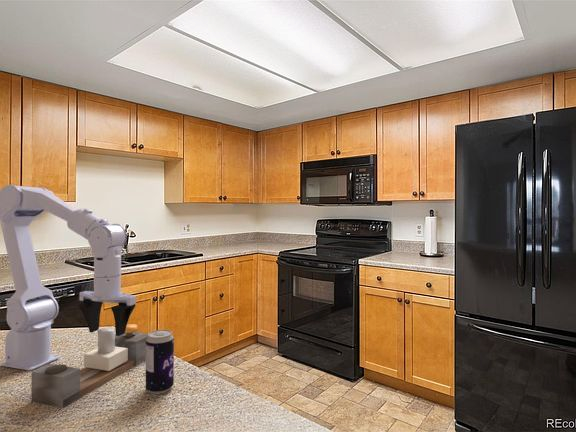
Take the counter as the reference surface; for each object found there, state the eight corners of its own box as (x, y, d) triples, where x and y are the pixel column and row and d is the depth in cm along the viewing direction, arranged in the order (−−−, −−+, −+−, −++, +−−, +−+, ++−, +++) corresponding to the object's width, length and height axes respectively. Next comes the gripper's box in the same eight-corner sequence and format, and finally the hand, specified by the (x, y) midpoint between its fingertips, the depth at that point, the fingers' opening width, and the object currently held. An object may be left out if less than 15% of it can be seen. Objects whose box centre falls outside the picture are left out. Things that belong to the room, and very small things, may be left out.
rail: (29, 401, 72) (29, 369, 72) (123, 352, 97) (123, 329, 97) (65, 408, 70) (65, 375, 69) (151, 356, 94) (151, 332, 94)
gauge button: (118, 339, 92) (118, 327, 92) (128, 334, 95) (128, 323, 95) (130, 341, 91) (130, 329, 91) (140, 336, 94) (140, 324, 94)
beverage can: (164, 397, 74) (165, 339, 74) (139, 394, 75) (140, 336, 75) (178, 384, 80) (178, 330, 80) (155, 381, 81) (155, 328, 81)
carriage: (83, 366, 84) (84, 332, 83) (103, 356, 89) (104, 324, 89) (108, 370, 82) (109, 335, 81) (127, 360, 87) (127, 327, 87)
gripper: (68, 276, 84) (68, 334, 84) (120, 280, 80) (120, 342, 80) (93, 271, 90) (92, 325, 91) (142, 275, 86) (141, 332, 86)
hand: (107, 332), depth 86 cm, fingers open, 7 cm apart
